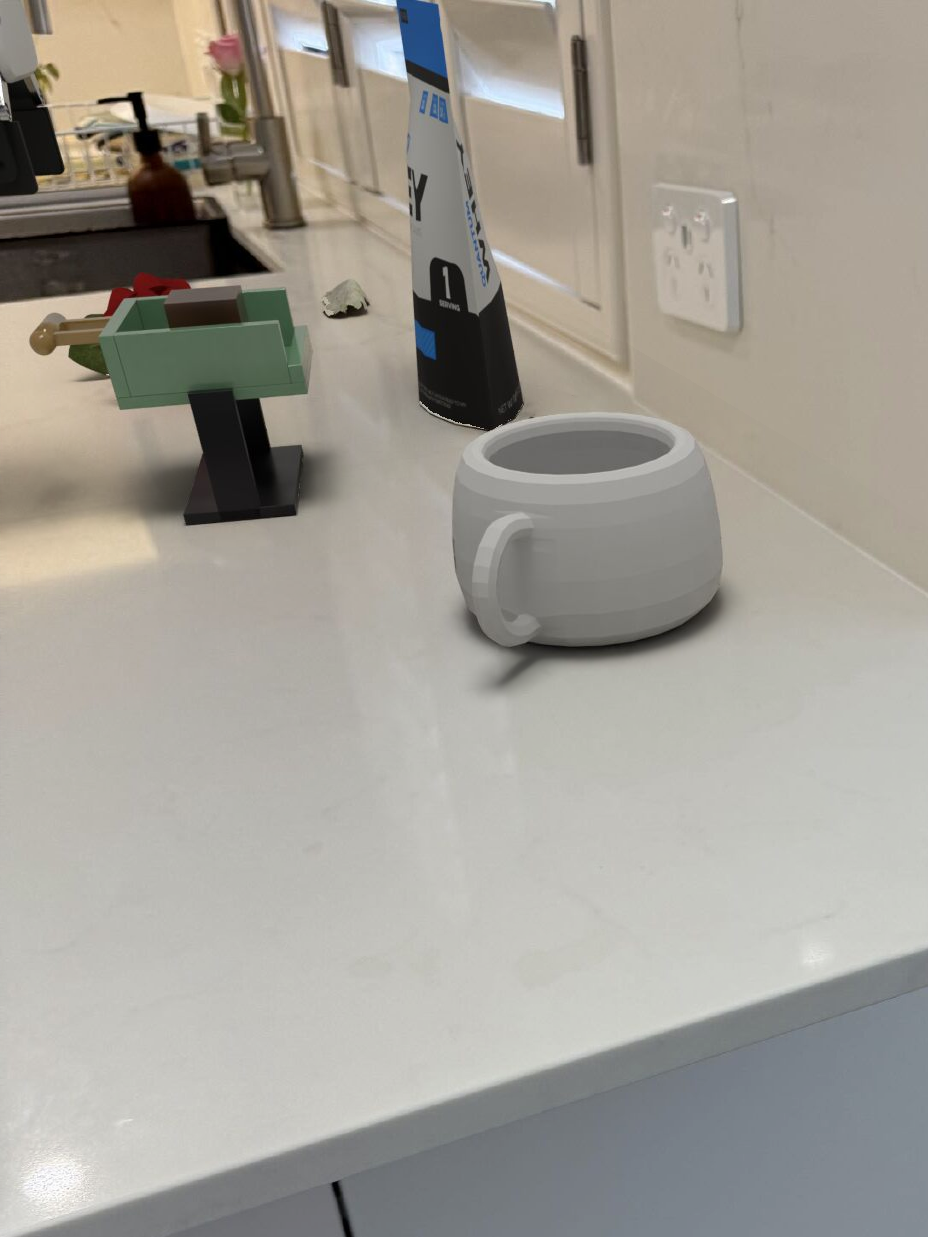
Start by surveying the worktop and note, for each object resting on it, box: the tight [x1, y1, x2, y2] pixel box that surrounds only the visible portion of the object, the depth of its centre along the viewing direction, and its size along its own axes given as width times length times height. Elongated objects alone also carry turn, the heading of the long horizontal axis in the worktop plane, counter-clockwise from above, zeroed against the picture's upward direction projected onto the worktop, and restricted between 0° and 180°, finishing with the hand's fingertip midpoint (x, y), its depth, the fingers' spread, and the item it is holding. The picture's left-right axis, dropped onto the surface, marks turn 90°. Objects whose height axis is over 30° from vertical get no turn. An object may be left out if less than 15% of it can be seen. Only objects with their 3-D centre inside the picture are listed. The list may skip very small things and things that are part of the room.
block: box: [163, 284, 249, 328], centre depth 99 cm, size 5×5×5 cm
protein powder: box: [395, 0, 524, 431], centre depth 116 cm, size 10×24×30 cm, turn 19°
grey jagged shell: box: [322, 278, 370, 315], centre depth 158 cm, size 12×5×4 cm
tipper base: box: [182, 388, 304, 526], centre depth 103 cm, size 8×16×9 cm, turn 13°
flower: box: [67, 271, 192, 376], centre depth 136 cm, size 16×11×30 cm
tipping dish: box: [28, 286, 314, 411], centre depth 99 cm, size 18×13×5 cm
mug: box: [451, 411, 724, 648], centre depth 81 cm, size 21×17×10 cm
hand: (28, 184), depth 91 cm, fingers open, 9 cm apart
